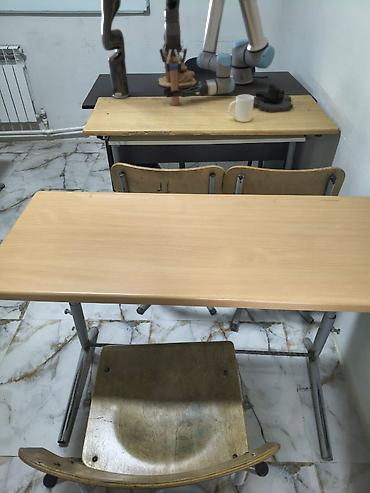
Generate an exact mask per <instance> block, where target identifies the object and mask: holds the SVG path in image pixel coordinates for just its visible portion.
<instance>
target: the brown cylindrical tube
mask: <svg viewBox="0 0 370 493" xmlns="http://www.w3.org/2000/svg"><path fill="white" fill-rule="evenodd" d="M170 79H171V87H170V88H171V91H177V90H178V92H179V80H178V69H176V70H171V69H170ZM170 99H171V105H172V106H179V105H180V96H176V97H170Z"/></svg>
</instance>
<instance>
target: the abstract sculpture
mask: <svg viewBox="0 0 370 493" xmlns="http://www.w3.org/2000/svg"><path fill="white" fill-rule="evenodd" d="M253 97H254V103H253V108H258V109H259V110H260V111H262V112H263V111H264V112H268V113H278V112H288V111H289V110H291V109H293V106H294V105H293V103H292V102H291V101H292V97H291V96H290V95H289V94H285V90H282V89H280V88H279V87H278V86H276V85H275V84H274V83H269V86H268V91H267V92H266V91H263V90H261V91H260V90H259V91H257V92H255V96H253Z"/></svg>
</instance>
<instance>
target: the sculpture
mask: <svg viewBox="0 0 370 493" xmlns="http://www.w3.org/2000/svg"><path fill="white" fill-rule="evenodd" d="M163 40H164V44H163V45H162V49H163V48H165V45H166V44H165V32H164V33H163ZM179 55H180V54H179ZM164 56H165V59H166V60H167V57H168V54H167V52H166V51H165V52H164ZM180 58H181V59H183V55H180ZM169 63H170V64H178V63H179V62H178V59H177V57H174V56H173V57H170V60H169ZM164 71H165V73H164V75H165V76H163V77H159V78H158V79H157V80H158V84H159V86H161V87H163V88H166V89H170V88H171V79H170V72H168V70H167V66H166V63H165V62H164ZM195 76H196V74H195V72H194V71H192V70H188V66H187V65H186V64H185V61H184V62H182V63H181V70H180V72H179V71H178V80H179V86H181V85H188V84H192V85H197V84H196V83H197V82H198V81H197V79H195Z"/></svg>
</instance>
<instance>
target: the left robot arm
mask: <svg viewBox="0 0 370 493" xmlns="http://www.w3.org/2000/svg"><path fill="white" fill-rule="evenodd" d="M121 4H122V0H101V35H100V36H101V44H102V48H103V49H104V50H105V51H114V53H113V54H112V55H110V56H109V57H108V58H107V64H108V70H109V75H110V83H111V89H112V97H113V98H114V99H125V98H128V97H130V90H129V89H130V88H129V82H128V81H129V79H128V74H127V66H126V65H127V64H126V48H125V38H124V33H123V32H122V30H121V29H119V28H114V29H112V27H113V26H112V25H113V23H114V20H115V18H116V16H117V14H118V12H119V10H120V8H121ZM180 4H181V0H165V8H164V33H165V41H164V43H165V44H166V45H165V48H163V47H162V48H161V47H160V49H159V54H160V57H161V62H162V63H164V64H165V63H166V66H167V70H168V72H170V69H169V64H170V63H169V60H170V57H173V56H174V57H177V59H178V62H179V63H178V71H179V72H180V70H181V63H182V62H184V63H185V60H186V57H187V53H188V49H187V48H186V47H185V48H184V47H182V42H181V41H182V38H181V31H182V30H181V22H180V19H181V18H180ZM165 51H166V52H167V54H168V57H167V60H166V59H165V56H164V52H165ZM180 53H182V54H183V55H182V58H183V59H181V58H180Z"/></svg>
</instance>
